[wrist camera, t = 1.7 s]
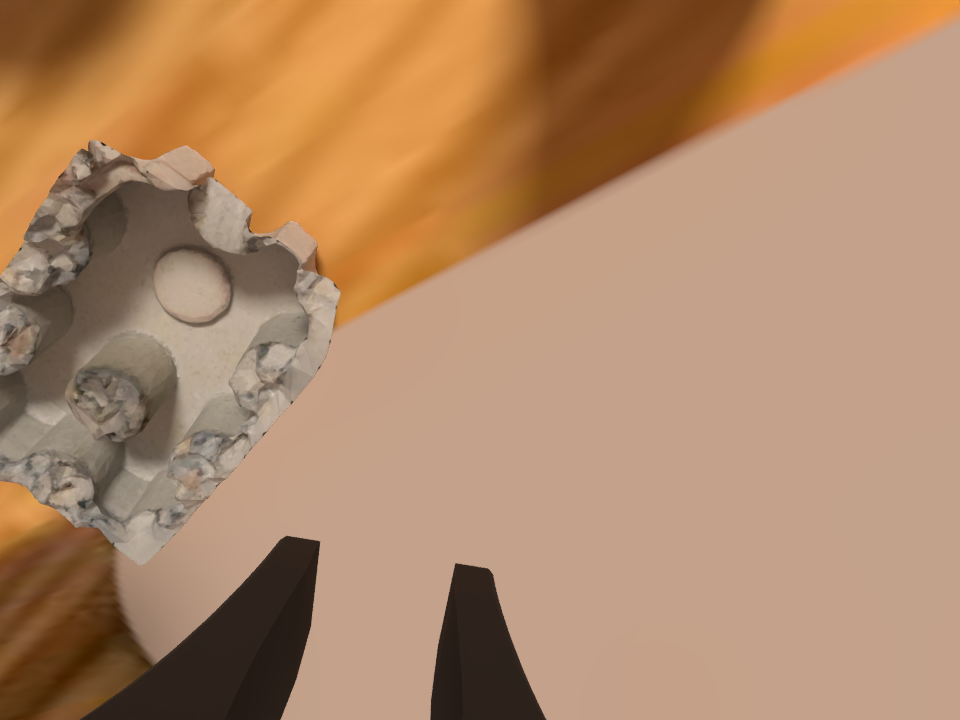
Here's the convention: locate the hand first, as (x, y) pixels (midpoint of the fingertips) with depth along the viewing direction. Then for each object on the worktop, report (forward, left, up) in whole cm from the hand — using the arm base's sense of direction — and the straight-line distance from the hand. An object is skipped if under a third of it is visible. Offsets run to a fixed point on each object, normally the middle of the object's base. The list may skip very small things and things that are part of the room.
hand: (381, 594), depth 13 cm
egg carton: (0, +10, -11) cm, 15 cm away
